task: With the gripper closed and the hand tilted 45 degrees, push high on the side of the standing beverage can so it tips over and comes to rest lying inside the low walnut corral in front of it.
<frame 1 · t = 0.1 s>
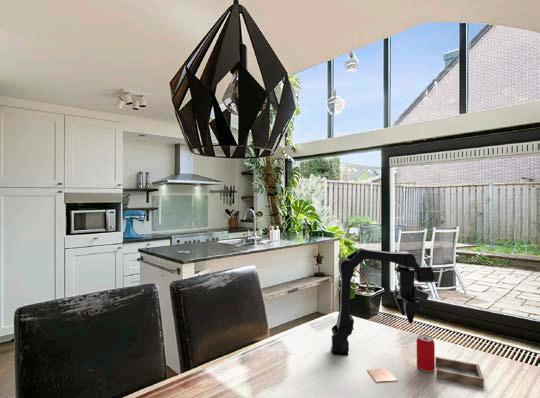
hand: (406, 319, 137), 15 cm above the table, tool pointing down, fingers open, 9 cm apart
beverage can: (425, 369, 125), on the table
walnut corral: (456, 374, 120), on the table
terracotta tile: (381, 377, 120), on the table
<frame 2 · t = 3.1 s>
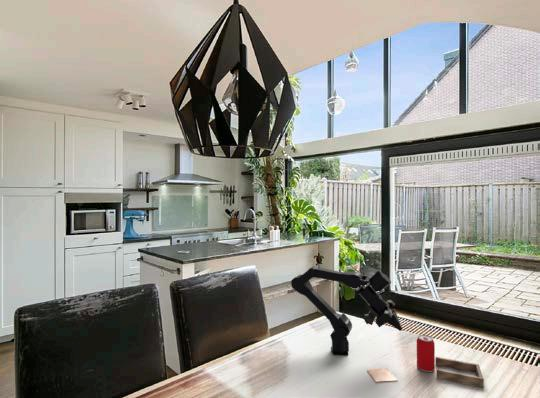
hand: (401, 330, 128), 13 cm above the table, tool tilted 45°, fingers closed
nothing on the table moved.
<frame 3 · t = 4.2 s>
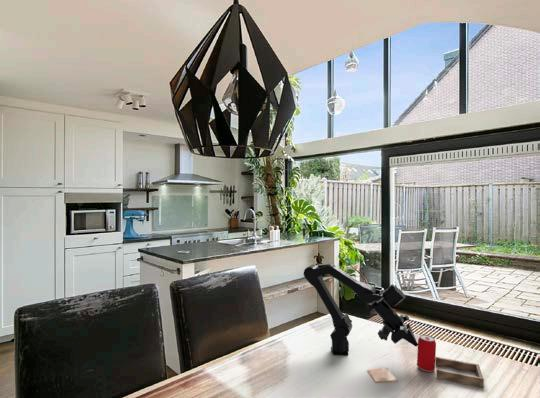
hand: (417, 345, 126), 8 cm above the table, tool tilted 45°, fingers closed, pressing on beverage can
beverage can: (425, 368, 125), on the table, touching gripper
everything else where it was.
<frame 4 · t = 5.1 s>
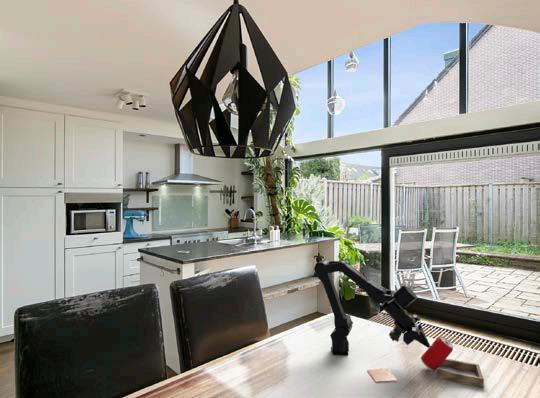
hand: (429, 346, 124), 9 cm above the table, tool tilted 45°, fingers closed
beverage can: (426, 364, 125), point 2 cm above the table
everything else where it was.
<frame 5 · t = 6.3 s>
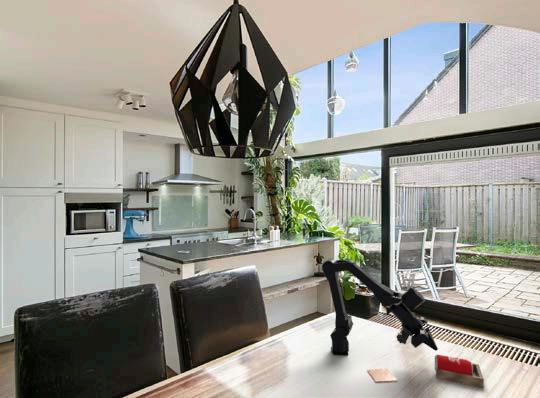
hand: (436, 349, 123), 8 cm above the table, tool tilted 45°, fingers closed
beverage can: (434, 362, 122), point 3 cm above the table, touching walnut corral
everything else where it was.
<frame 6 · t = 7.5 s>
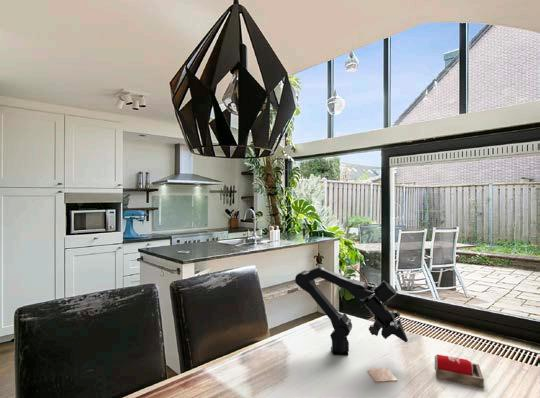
hand: (407, 341, 127), 9 cm above the table, tool tilted 45°, fingers closed
nothing on the table moved.
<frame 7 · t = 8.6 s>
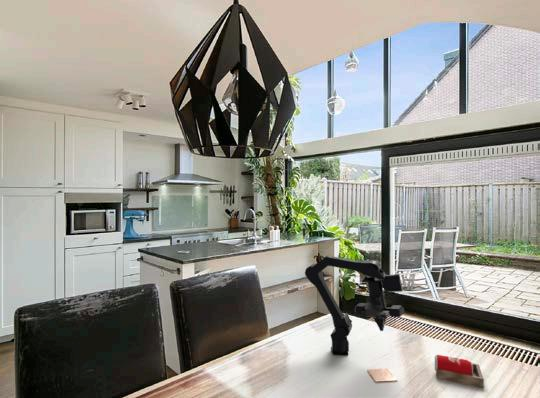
hand: (381, 330, 132), 12 cm above the table, tool pointing down, fingers closed
nothing on the table moved.
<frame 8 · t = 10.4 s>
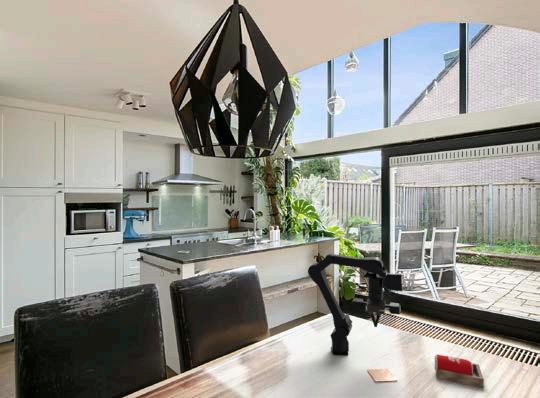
hand: (375, 326, 133), 13 cm above the table, tool pointing down, fingers closed
nothing on the table moved.
at the end: beverage can tilted 90°; beverage can inside the target area (7.8 cm from its centre), point 3.5 cm above the table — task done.
